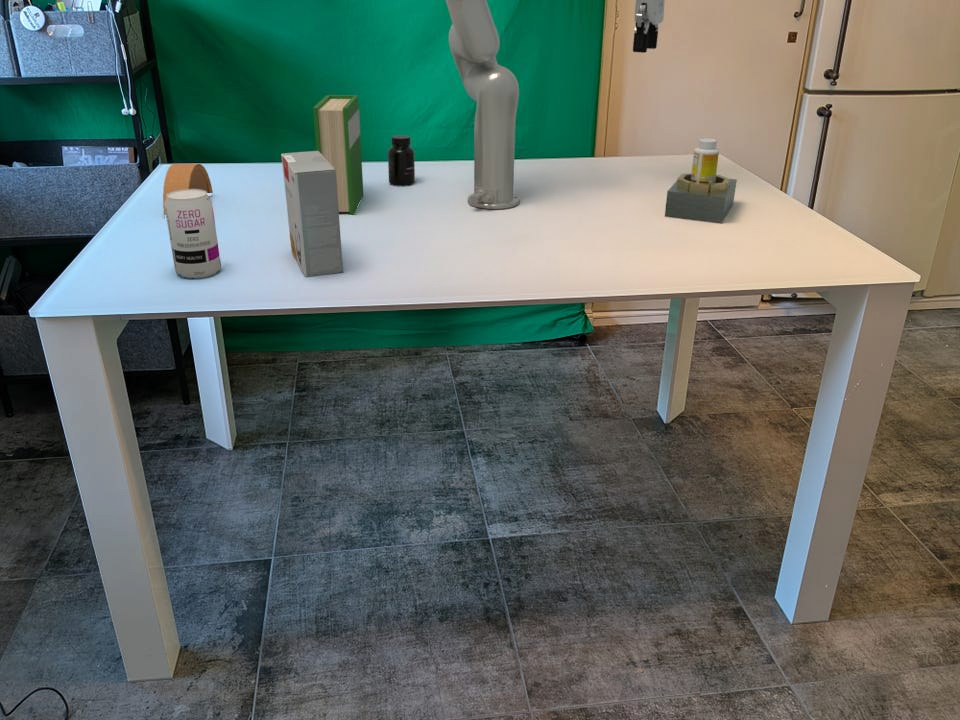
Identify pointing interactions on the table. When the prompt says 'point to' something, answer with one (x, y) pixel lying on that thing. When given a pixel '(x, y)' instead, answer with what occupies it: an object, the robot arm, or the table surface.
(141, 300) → the table surface
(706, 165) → the supplement bottle
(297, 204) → the hard drive box
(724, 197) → the grey block with ring
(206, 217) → the supplement can
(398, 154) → the supplement bottle
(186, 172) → the arch
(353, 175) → the hardback book
